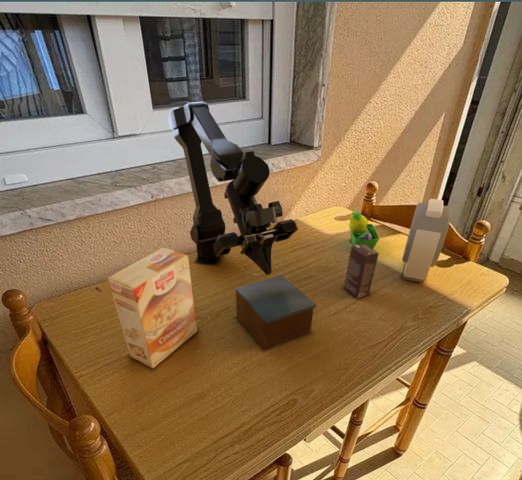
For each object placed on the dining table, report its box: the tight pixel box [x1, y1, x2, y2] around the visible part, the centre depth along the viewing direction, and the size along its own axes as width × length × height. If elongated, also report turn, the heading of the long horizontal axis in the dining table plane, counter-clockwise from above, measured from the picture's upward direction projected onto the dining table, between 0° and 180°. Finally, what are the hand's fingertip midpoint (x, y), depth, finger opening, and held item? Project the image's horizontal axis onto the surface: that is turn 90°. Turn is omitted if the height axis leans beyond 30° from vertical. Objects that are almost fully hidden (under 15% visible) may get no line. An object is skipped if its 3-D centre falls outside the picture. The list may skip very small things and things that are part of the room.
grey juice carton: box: [401, 198, 453, 284], centre depth 103 cm, size 18×8×20 cm, turn 158°
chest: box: [235, 290, 314, 350], centre depth 88 cm, size 13×12×8 cm
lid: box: [235, 274, 317, 324], centre depth 85 cm, size 14×12×1 cm
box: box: [343, 244, 380, 299], centre depth 98 cm, size 6×4×12 cm
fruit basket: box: [348, 211, 380, 250], centre depth 118 cm, size 11×9×11 cm
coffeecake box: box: [107, 246, 198, 369], centre depth 78 cm, size 15×7×20 cm, turn 148°
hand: (269, 274), depth 84 cm, fingers closed
